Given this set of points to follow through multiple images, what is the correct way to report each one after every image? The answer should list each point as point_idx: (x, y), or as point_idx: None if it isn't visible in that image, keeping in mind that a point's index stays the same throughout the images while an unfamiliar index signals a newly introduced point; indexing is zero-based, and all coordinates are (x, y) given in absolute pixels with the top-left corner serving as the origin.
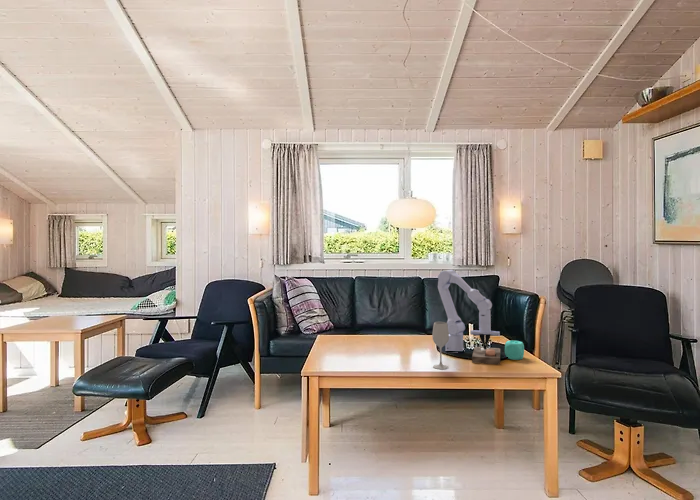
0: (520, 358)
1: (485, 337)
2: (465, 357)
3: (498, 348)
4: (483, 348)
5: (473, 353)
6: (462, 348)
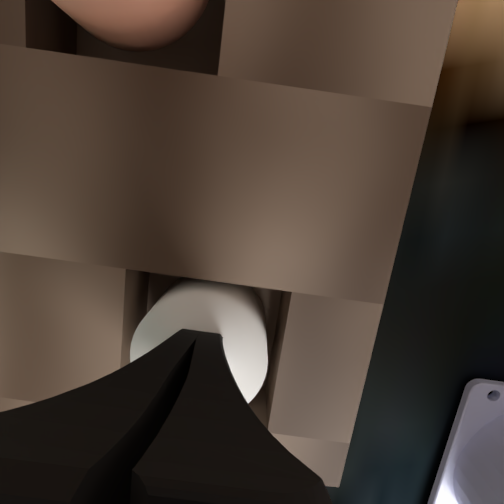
0: None
1: (84, 459)
2: (484, 166)
3: None
4: None
5: (440, 22)
6: (494, 461)
